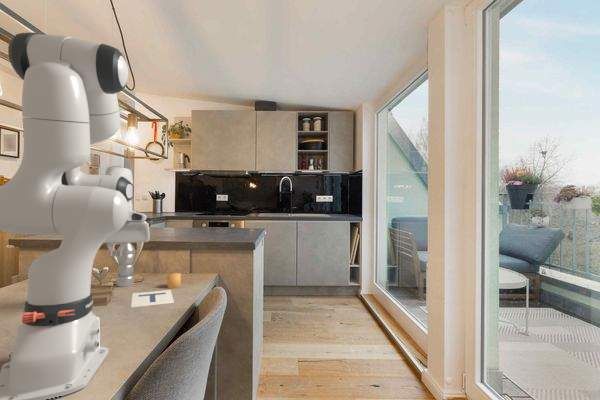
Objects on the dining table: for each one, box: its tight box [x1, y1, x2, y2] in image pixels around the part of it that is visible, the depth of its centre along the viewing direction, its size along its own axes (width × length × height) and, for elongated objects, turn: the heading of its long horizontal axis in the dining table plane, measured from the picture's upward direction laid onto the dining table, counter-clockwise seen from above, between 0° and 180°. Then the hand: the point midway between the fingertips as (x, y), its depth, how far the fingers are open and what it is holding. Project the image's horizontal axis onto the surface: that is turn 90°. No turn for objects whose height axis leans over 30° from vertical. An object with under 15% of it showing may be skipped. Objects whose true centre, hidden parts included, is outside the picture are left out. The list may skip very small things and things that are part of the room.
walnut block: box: [90, 289, 115, 308], centre depth 105 cm, size 9×8×4 cm
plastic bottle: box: [115, 242, 136, 288], centre depth 125 cm, size 6×7×20 cm
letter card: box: [130, 289, 175, 308], centre depth 111 cm, size 16×13×1 cm
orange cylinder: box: [166, 272, 182, 290], centre depth 125 cm, size 5×5×6 cm
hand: (116, 256), depth 106 cm, fingers closed
